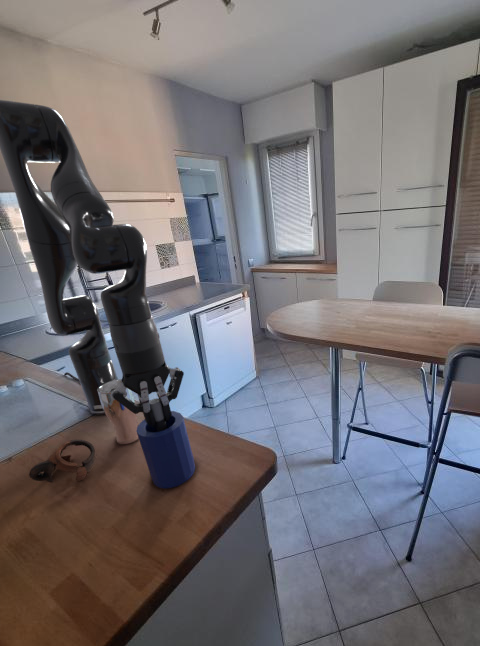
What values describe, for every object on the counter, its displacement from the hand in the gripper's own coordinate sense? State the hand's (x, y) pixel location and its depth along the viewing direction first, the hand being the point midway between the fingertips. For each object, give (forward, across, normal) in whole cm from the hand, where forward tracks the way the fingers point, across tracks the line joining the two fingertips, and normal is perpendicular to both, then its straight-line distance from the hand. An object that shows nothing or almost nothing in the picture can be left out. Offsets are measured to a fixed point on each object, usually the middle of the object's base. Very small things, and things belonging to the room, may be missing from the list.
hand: (159, 422), depth 67 cm
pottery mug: (+14, +18, -16) cm, 28 cm away
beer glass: (+14, +4, -21) cm, 25 cm away
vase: (+13, 0, 0) cm, 13 cm away
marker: (+9, 0, 0) cm, 9 cm away
